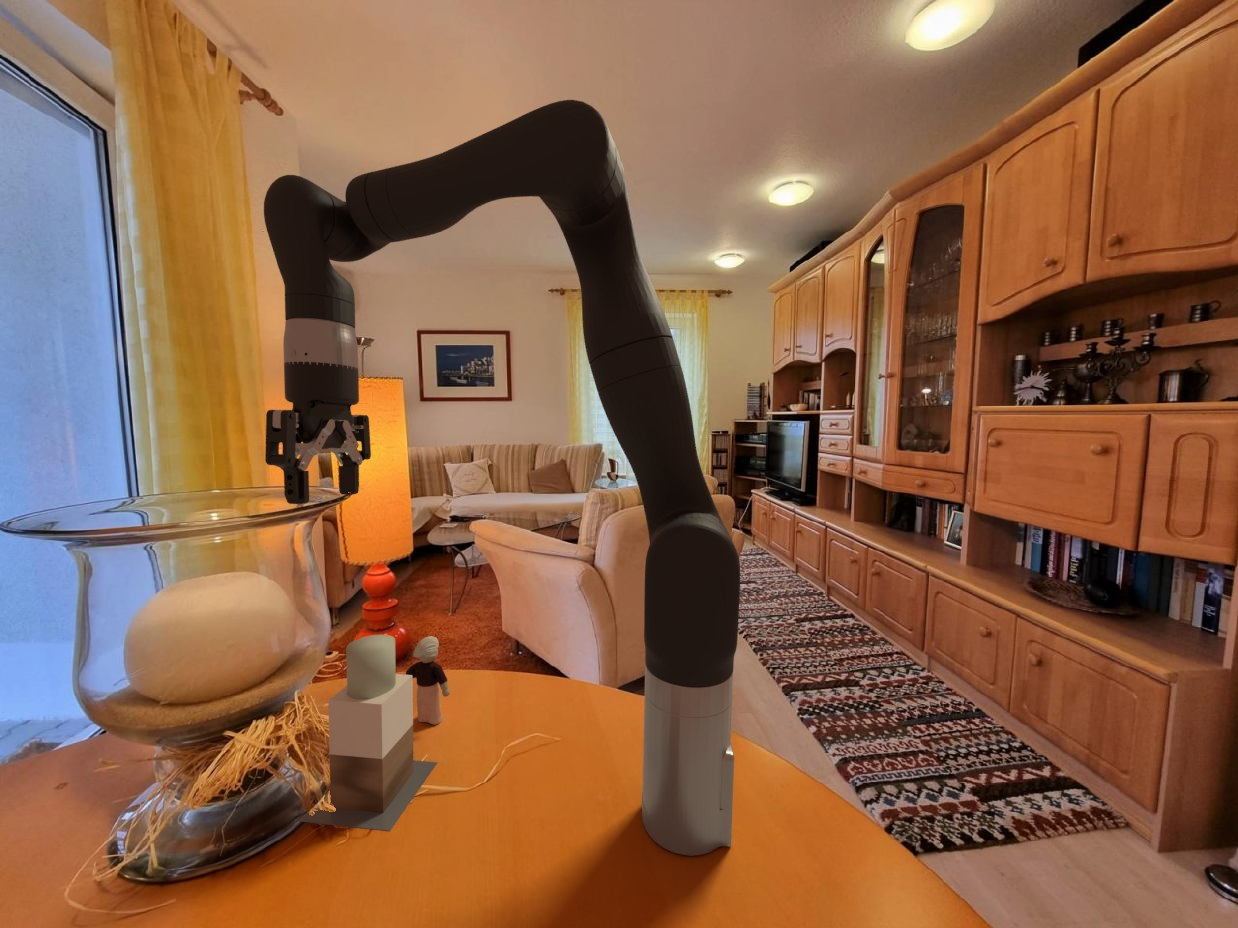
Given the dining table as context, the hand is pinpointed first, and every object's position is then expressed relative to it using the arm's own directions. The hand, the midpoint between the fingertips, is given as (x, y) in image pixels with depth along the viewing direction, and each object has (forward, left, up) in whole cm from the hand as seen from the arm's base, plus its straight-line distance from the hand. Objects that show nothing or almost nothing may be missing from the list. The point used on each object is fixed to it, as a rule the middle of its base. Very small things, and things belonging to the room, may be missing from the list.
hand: (325, 498), depth 57 cm
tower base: (-9, +5, -32) cm, 34 cm away
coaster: (-9, +5, -33) cm, 35 cm away
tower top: (-9, +5, -26) cm, 28 cm away
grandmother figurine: (-8, -8, -33) cm, 35 cm away
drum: (-9, +5, -20) cm, 23 cm away
